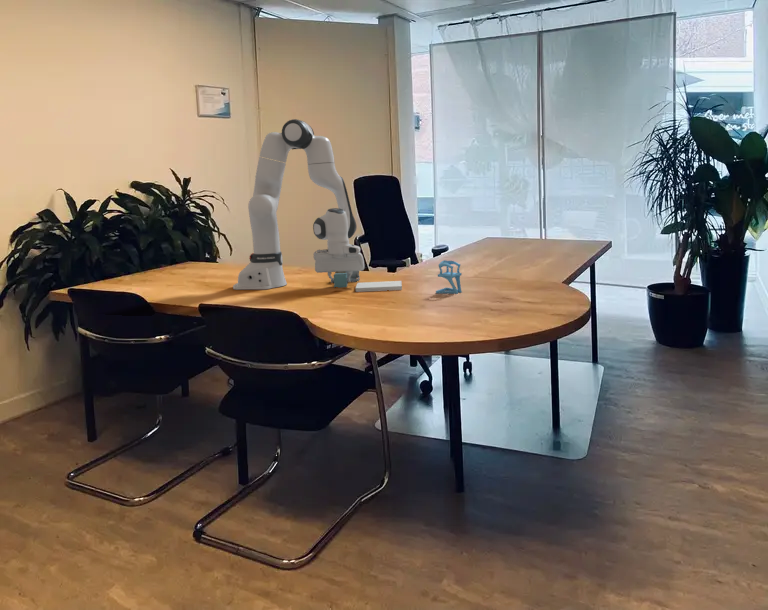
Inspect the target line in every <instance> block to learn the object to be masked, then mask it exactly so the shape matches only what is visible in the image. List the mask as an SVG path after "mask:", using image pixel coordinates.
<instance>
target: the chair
mask: <svg viewBox="0 0 768 610" xmlns="http://www.w3.org/2000/svg"><path fill="white" fill-rule="evenodd" d="M453 265H455V266H456V267H457V270H456V272H453V269H454V266H453ZM444 267H446V272H443V269H442V268H444ZM460 268H461V263H459V262H457V261H454V260H446V259H445V260H442V261H440V262H439V264H438V269H439V273H438V274H437V277H438V278H444V279H446V280H447V281H448V282H449V284H450V286H451V287H443V288H441V289H437V290H435V294H444V295H445V294H449V295H451V294H452V295H459V294H460V293H462V286H461V276H462V275H463V274H462V272H460ZM449 269H450V270H449ZM453 278H454V279H455V282H456V285H455V283H454V281H453ZM456 286H457V287H456Z"/></svg>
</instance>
